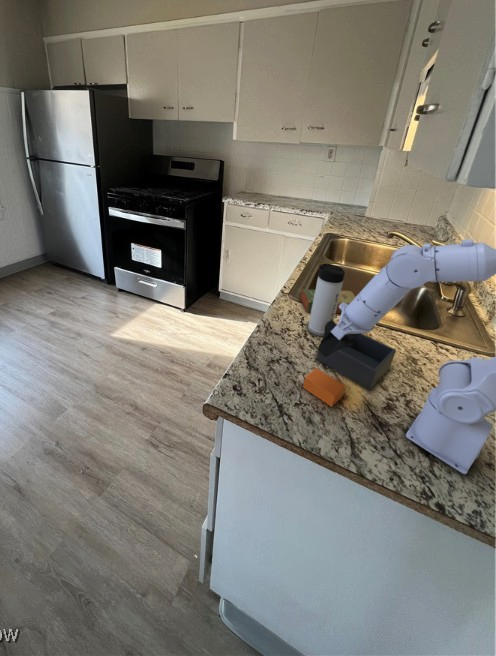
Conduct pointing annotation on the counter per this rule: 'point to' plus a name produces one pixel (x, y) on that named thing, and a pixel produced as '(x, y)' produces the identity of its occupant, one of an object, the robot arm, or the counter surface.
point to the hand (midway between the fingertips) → (331, 346)
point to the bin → (361, 360)
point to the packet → (324, 387)
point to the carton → (309, 294)
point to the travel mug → (325, 297)
